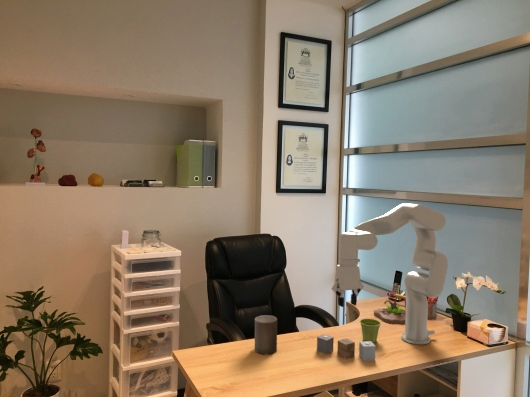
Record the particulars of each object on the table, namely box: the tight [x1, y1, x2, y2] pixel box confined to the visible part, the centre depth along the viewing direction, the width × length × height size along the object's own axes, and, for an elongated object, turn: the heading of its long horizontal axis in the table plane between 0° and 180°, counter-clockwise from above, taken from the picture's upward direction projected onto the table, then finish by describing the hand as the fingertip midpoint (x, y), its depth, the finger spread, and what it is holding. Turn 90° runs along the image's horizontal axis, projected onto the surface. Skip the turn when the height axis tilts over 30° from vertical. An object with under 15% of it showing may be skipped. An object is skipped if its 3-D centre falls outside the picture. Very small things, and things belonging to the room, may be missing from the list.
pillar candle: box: [254, 314, 278, 355], centre depth 178 cm, size 10×10×15 cm
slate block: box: [358, 340, 376, 362], centre depth 172 cm, size 5×5×6 cm
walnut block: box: [336, 337, 356, 360], centre depth 174 cm, size 5×5×6 cm
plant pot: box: [359, 318, 382, 344], centre depth 190 cm, size 9×9×9 cm
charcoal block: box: [316, 333, 334, 355], centre depth 178 cm, size 5×5×6 cm
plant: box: [373, 296, 406, 325], centre depth 223 cm, size 20×20×11 cm
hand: (347, 304), depth 173 cm, fingers open, 5 cm apart
